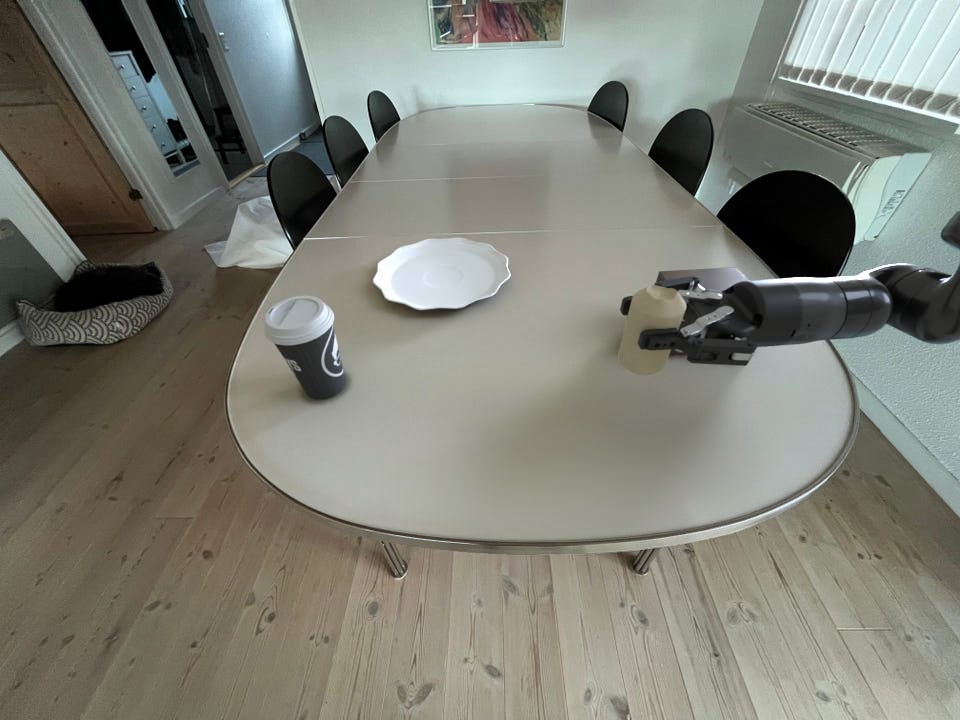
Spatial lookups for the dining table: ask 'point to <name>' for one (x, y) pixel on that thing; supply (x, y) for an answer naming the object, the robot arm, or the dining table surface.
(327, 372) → the coffee cup
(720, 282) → the cabinet
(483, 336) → the dining table surface
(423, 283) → the plate
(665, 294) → the candle
